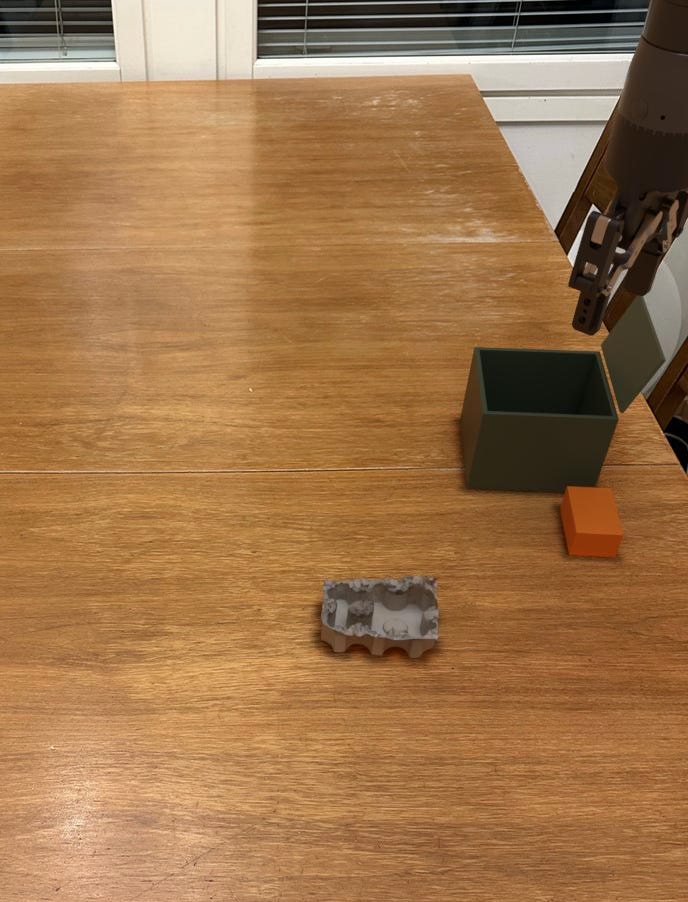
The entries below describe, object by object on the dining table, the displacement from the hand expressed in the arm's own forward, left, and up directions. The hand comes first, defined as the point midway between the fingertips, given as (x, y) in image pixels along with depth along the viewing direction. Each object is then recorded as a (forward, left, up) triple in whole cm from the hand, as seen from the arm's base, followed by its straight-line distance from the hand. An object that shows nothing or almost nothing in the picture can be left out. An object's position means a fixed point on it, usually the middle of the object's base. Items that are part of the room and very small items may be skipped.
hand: (610, 310), depth 83 cm
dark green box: (+2, -9, -23) cm, 25 cm away
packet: (-3, +3, -23) cm, 23 cm away
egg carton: (+18, +18, -23) cm, 34 cm away
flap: (-6, -9, -10) cm, 15 cm away
